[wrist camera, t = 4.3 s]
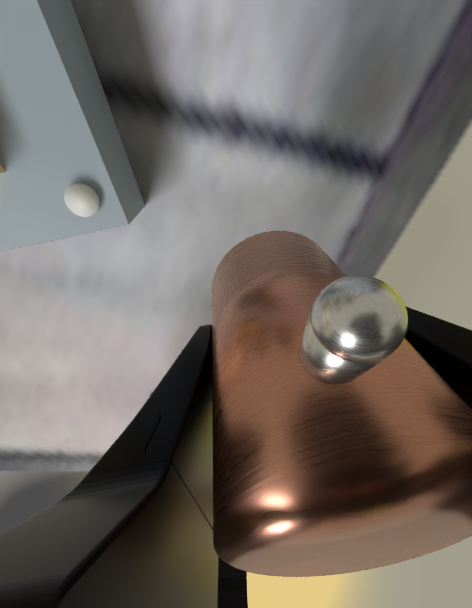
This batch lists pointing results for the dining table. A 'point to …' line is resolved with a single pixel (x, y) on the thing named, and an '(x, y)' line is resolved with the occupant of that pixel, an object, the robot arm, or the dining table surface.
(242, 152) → the dining table surface
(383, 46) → the dining table surface
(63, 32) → the grey plate with frame
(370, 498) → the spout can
